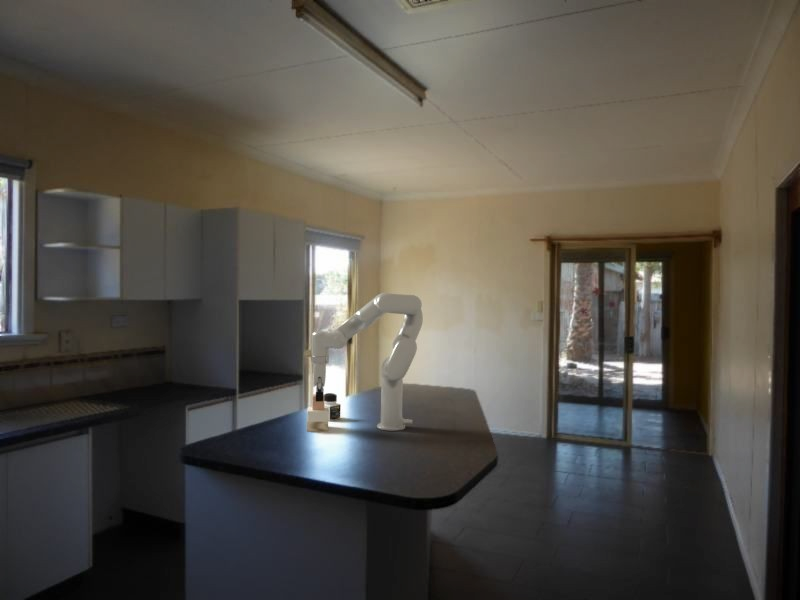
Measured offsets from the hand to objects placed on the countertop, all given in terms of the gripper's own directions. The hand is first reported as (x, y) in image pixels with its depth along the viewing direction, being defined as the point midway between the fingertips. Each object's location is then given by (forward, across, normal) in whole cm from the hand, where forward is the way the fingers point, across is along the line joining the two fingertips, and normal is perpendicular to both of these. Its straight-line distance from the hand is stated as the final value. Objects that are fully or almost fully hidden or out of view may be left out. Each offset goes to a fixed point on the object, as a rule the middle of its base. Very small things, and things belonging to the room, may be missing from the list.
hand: (319, 399), depth 245 cm
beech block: (+13, 0, -1) cm, 13 cm away
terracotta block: (+4, 0, 0) cm, 4 cm away
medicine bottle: (+13, -19, +5) cm, 24 cm away
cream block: (+9, 0, -1) cm, 9 cm away
